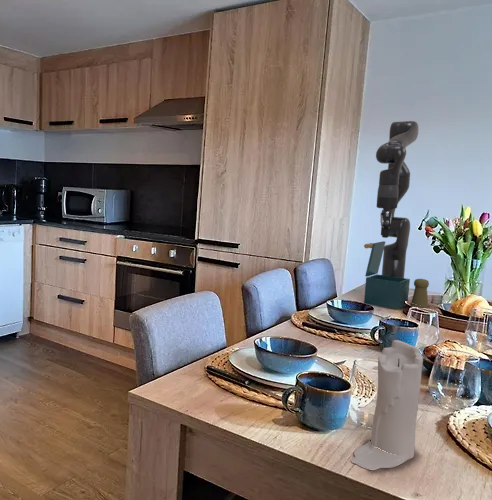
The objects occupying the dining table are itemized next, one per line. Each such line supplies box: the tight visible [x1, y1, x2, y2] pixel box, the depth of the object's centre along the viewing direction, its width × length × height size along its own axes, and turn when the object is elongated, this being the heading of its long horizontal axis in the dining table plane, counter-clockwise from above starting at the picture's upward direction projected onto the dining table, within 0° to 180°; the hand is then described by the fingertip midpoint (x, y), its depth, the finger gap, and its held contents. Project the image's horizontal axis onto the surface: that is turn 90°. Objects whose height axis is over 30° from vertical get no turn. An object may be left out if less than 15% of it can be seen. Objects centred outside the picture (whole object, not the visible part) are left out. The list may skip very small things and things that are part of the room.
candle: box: [350, 339, 424, 471], centre depth 89 cm, size 7×14×20 cm, turn 125°
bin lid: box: [363, 240, 386, 278], centre depth 206 cm, size 14×11×5 cm
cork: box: [410, 278, 430, 309], centre depth 200 cm, size 6×6×11 cm
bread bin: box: [363, 273, 411, 310], centre depth 202 cm, size 13×11×11 cm
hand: (384, 236), depth 204 cm, fingers open, 8 cm apart
